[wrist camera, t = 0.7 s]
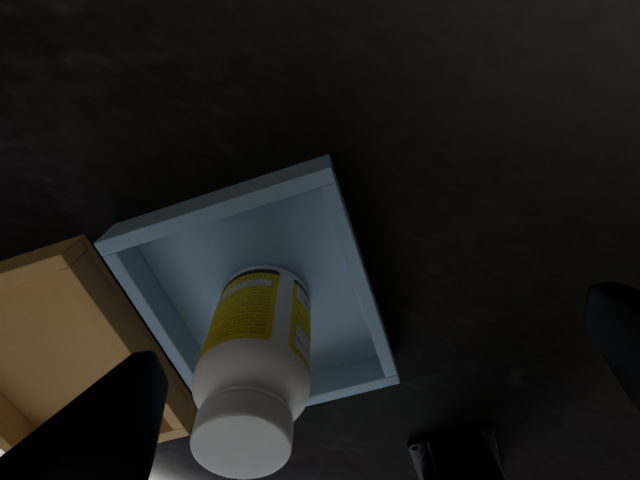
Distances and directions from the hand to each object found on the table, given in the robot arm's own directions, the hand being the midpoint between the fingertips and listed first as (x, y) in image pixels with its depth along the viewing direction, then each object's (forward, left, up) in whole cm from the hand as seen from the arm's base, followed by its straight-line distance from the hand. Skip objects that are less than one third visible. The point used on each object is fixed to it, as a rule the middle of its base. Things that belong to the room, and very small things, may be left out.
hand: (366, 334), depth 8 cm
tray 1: (-7, +21, -14) cm, 26 cm away
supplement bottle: (-7, +7, -14) cm, 17 cm away
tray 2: (-7, +7, -14) cm, 17 cm away
